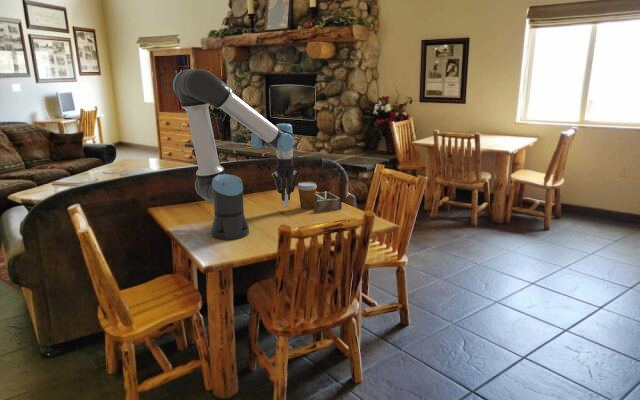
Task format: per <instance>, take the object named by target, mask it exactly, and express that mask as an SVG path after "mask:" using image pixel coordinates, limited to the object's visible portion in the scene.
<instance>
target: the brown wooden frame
mask: <svg viewBox="0 0 640 400" xmlns="http://www.w3.org/2000/svg"><path fill="white" fill-rule="evenodd" d="M316 194H318V195H320V196H322V197H323V198H325V191H323V192H316ZM342 203H343V200H342V198H341V197H339V196H337V195H335V194H333V193H332V192H330V191H326V199H324V200H316V205H315V207H316V212H317V213H321V212H329V211H338V210H342V209H343V208H342V206H343V205H342Z"/></svg>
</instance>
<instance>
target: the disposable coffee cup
mask: <svg viewBox="0 0 640 400" xmlns="http://www.w3.org/2000/svg"><path fill="white" fill-rule="evenodd" d="M296 187H297V189H298V196H299V202H300V209H301V210H304V211H310V210H313V209H315V204H314V203H315V194H316V193H317V187H318V186H317V184H316V182H312V181H304V182H303V181H302V182H298V184H297V186H296Z"/></svg>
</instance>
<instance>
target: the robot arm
mask: <svg viewBox="0 0 640 400" xmlns="http://www.w3.org/2000/svg"><path fill="white" fill-rule="evenodd" d="M172 88H173V91H174V93H175V95H176V96H177V97H178V98H179V102H180V107H181V108H182V109H183V110H185V111H186V117H187V120H188V126H189V130H190V133H191V134H190V135H191V139H192V143H193V144H192V145H193V148H194V149H193V150H194V153H195V157H196V162H197V163H196V164H197V166H198V169H197V170H196V172H195V176H196V180H195V181H194V182H195V183H194V187H195V188H194V189H195V191H196V194H198V196H200V197H201V198H202V199H203V200H204V201H206V202H210V203H212V204H213V210H214V214H213V215H214V216H213V221H212V224H211V228H210V234H211V237H212V238H214V239H218V240H225V241H227V240H228V241H229V240H237V239H241V238H245V237H246V236H248V235H249V234H250V227H249V224H248V221H247V219H246V216H245V208H244V184H243V181H242V178H240V177H239V176H237V175H234V174H230V173H229V174H227V173H226V172H225V168H224V167H223V166H222V165H221V164H220V161H219V156H218V151H217V146H216V141H215V134H214V130H213V125H212V121H211V114H210V109H209V107H210V106H212V107H213V108H215V109H217V110H218V109H220V110H222V111H223V112H224V113H226V114H227V115H229V116H230V117H231V118H233V119H234V120H235V121H237V122H239V123H240V124H241V125H242V126H244V127H245V128H246V129H248V130H249V131H250V132H252V133H251V136H250V137H251V138H250V139H251V144H252V146H253V147H254V148H256V149H258V148H259V149H263V148H267V149H271V150H275V152H276V169H275V171H274V172H272V173H271V177H272V178H273V181H274V185H275V187H276V191H277V193H278V194H281V195H280V196H281V198H280V199H281V201H282V202H283V208H285V209H288V208H289V201H290V200H291V193H294V191H295V188H296V187H295V186H296V182H297V178H298V176H299V174H300V173H299V171H296V170H295V168H294V158H293V157H294V151H293V150H294V149H293V147H294V144H295V139H294V135H293V133H294V132H293V125H292V124H291V123H277V124H276V125H274V124H273V123H272V122H271V121H269V120H268V119H267V118H265V116H263V115H261V114H260V113H259V112H258V111H257V110H255V109H254V108H253V107H252V106H250V105H249V104H248V103H246V102H245V101H244V100H242V98H240V97H239V96H238V95H236V94H235V93H233V91H232V90H233V89H232V87H230V86H229V85H227V84H226V83H225V82H224V81H223V80H222V79H220V78H219V77H218V76H217V75H215V74H213V73H212V72H211V71H209V70H207V69H204V68H195V69H194V68H189V69H188V68H187V69H184V70H181V71H179V72H178V73H177V74H176V75H175V76H174V79H173V82H172ZM278 176H279V178H280V181H279V178H278ZM291 176H292V177H291ZM279 182H280V183H279Z"/></svg>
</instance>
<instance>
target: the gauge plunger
mask: <svg viewBox="0 0 640 400" xmlns="http://www.w3.org/2000/svg"><path fill="white" fill-rule="evenodd" d="M324 192H325V198H323V197H322V196H320V195H318V194H315V203H314V206H316V200H324V199H326V192H327V191H326V190H325V191H324Z"/></svg>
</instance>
